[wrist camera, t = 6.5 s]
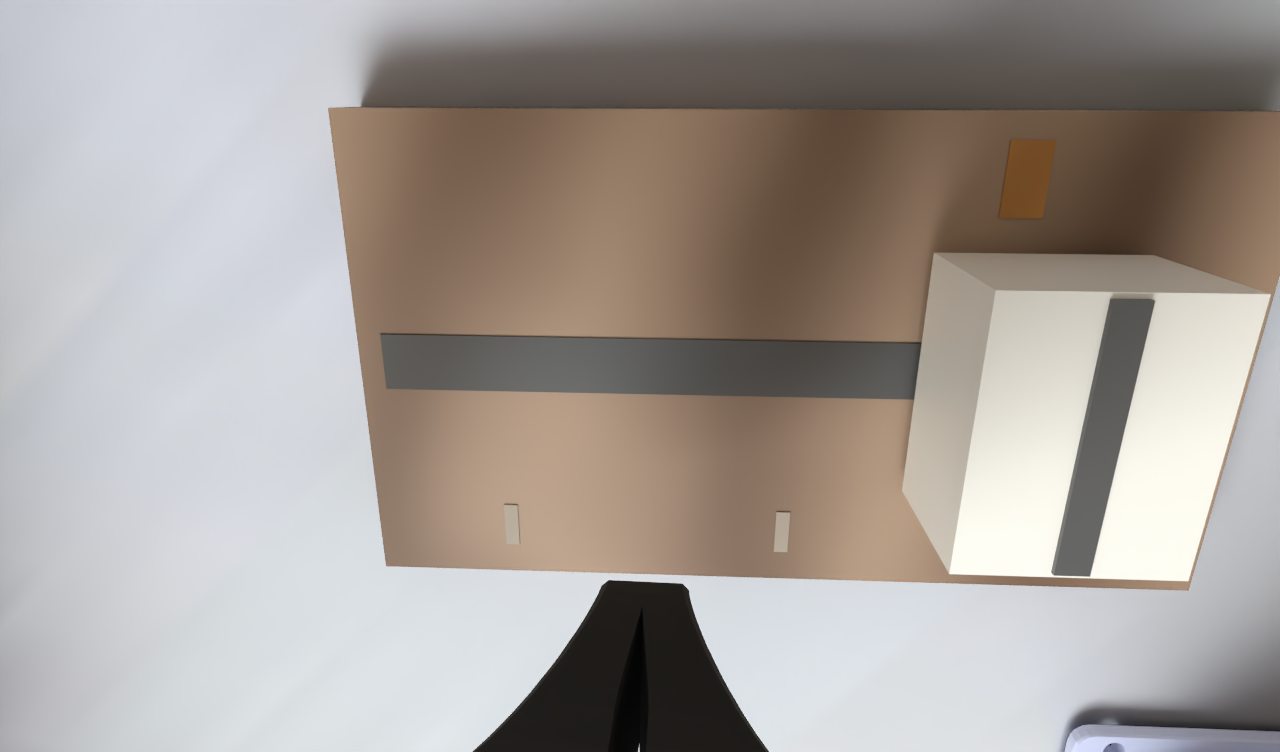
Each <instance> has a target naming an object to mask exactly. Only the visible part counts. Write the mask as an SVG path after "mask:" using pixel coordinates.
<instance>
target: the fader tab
mask: <svg viewBox="0 0 1280 752" xmlns="http://www.w3.org/2000/svg"><path fill="white" fill-rule="evenodd" d="M1270 296H1271V294H1269V293H1266V292H1263V291H1260V290H1257V289H1254V288H1251V287H1248V286H1245V285H1242V284H1239V283H1236V282H1233V281H1230V280H1227V279H1224V278H1221V277H1218V276H1215V275H1212V274H1209V273H1206V272H1203V271H1200V270H1197V269H1194V268H1191V267H1188V266H1185V265H1182V264H1179V263H1176V262H1173V261H1170V260H1167V259H1164V258H1161V257H1158V256H1155V255H1099V254H1016V253H934V255H933V262H932V270H931V277H930V285H929V292H928V300H927V307H926V315H925V322H924V330H923V337H922V345H921V352H920V360H919V367H918V375H917V382H916V390H915V397H914V405H913V412H912V420H911V427H910V435H909V442H908V450H907V457H906V465H905V472H904V480H903V487H902V492H903V493H904V495H905V497H906V499H907V500H908V502H909V504H910V506H911V507H912V509H913V511H914V513H915V515H916V516H917V518H918V520H919V522H920V523H921V525H922V527H923V529H924V530H925V532H926V534H927V536H928V538H929V539H930V541H931V543H932V545H933V546H934V548H935V550H936V552H937V553H938V555H939V557H940V559H941V560H942V562H943V564H944V566H945V568H946V569H947V571H948V573H949V574H961V575H994V576H1027V577H1061V578H1094V579H1128V580H1161V581H1189V577H1190V574H1191V570H1192V567H1193V563H1194V560H1195V556H1196V553H1197V549H1198V546H1199V542H1200V539H1201V536H1202V532H1203V529H1204V525H1205V522H1206V518H1207V515H1208V511H1209V508H1210V504H1211V501H1212V497H1213V494H1214V490H1215V487H1216V484H1217V480H1218V477H1219V473H1220V470H1221V466H1222V463H1223V459H1224V456H1225V452H1226V449H1227V445H1228V442H1229V438H1230V435H1231V431H1232V428H1233V425H1234V421H1235V418H1236V414H1237V411H1238V407H1239V404H1240V400H1241V397H1242V393H1243V390H1244V386H1245V383H1246V379H1247V376H1248V372H1249V369H1250V366H1251V362H1252V359H1253V355H1254V352H1255V348H1256V345H1257V341H1258V338H1259V334H1260V331H1261V327H1262V324H1263V320H1264V317H1265V313H1266V310H1267V307H1268V303H1269V300H1270Z"/></svg>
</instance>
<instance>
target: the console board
mask: <svg viewBox="0 0 1280 752" xmlns="http://www.w3.org/2000/svg"><path fill="white" fill-rule="evenodd" d="M328 110H329V118H330V126H331V134H332V142H333V150H334V158H335V166H336V173H337V181H338V189H339V197H340V205H341V213H342V221H343V229H344V237H345V244H346V252H347V260H348V268H349V276H350V284H351V292H352V300H353V308H354V316H355V323H356V331H357V339H358V347H359V355H360V363H361V371H362V379H363V387H364V394H365V402H366V410H367V418H368V426H369V434H370V442H371V450H372V458H373V466H374V473H375V481H376V489H377V497H378V505H379V513H380V521H381V529H382V537H383V544H384V552H385V560H386V566H402V567H434V568H467V569H500V570H533V571H566V572H599V573H631V574H664V575H697V576H730V577H763V578H796V579H829V580H861V581H894V582H927V583H960V584H993V585H1026V586H1058V587H1091V588H1124V589H1157V590H1189V587H1190V583H1191V580H1192V576H1193V573H1194V569H1195V566H1196V562H1197V559H1198V556H1199V552H1200V549H1201V545H1202V542H1203V538H1204V535H1205V531H1206V528H1207V524H1208V521H1209V518H1210V514H1211V511H1212V507H1213V504H1214V500H1215V497H1216V493H1217V490H1218V486H1219V483H1220V480H1221V476H1222V473H1223V469H1224V466H1225V462H1226V459H1227V455H1228V452H1229V448H1230V445H1231V442H1232V438H1233V435H1234V431H1235V428H1236V424H1237V421H1238V417H1239V414H1240V410H1241V407H1242V404H1243V400H1244V397H1245V393H1246V390H1247V386H1248V383H1249V379H1250V376H1251V372H1252V369H1253V366H1254V362H1255V359H1256V355H1257V352H1258V348H1259V345H1260V341H1261V338H1262V335H1263V331H1264V328H1265V324H1266V321H1267V317H1268V314H1269V310H1270V307H1271V303H1272V300H1273V297H1274V293H1275V290H1276V286H1277V283H1278V279H1279V276H1280V111H1199V110H959V109H719V108H479V107H344V108H328ZM934 253H1016V254H1099V255H1155V256H1158V257H1161V258H1164V259H1167V260H1170V261H1173V262H1176V263H1179V264H1182V265H1185V266H1188V267H1191V268H1194V269H1197V270H1200V271H1203V272H1206V273H1209V274H1212V275H1215V276H1218V277H1221V278H1224V279H1227V280H1230V281H1233V282H1236V283H1239V284H1242V285H1245V286H1248V287H1251V288H1254V289H1257V290H1260V291H1263V292H1266V293H1269V294H1271V296H1270V300H1269V303H1268V307H1267V310H1266V313H1265V317H1264V320H1263V324H1262V327H1261V331H1260V334H1259V338H1258V341H1257V345H1256V348H1255V352H1254V355H1253V359H1252V362H1251V366H1250V369H1249V372H1248V376H1247V379H1246V383H1245V386H1244V390H1243V393H1242V397H1241V400H1240V404H1239V407H1238V411H1237V414H1236V418H1235V421H1234V425H1233V428H1232V431H1231V435H1230V438H1229V442H1228V445H1227V449H1226V452H1225V456H1224V459H1223V463H1222V466H1221V470H1220V473H1219V477H1218V480H1217V484H1216V487H1215V490H1214V494H1213V497H1212V501H1211V504H1210V508H1209V511H1208V515H1207V518H1206V522H1205V525H1204V529H1203V532H1202V536H1201V539H1200V542H1199V546H1198V549H1197V553H1196V556H1195V560H1194V563H1193V567H1192V570H1191V574H1190V577H1189V581H1161V580H1128V579H1094V578H1061V577H1027V576H994V575H961V574H949V573H948V571H947V569H946V568H945V566H944V564H943V562H942V560H941V559H940V557H939V555H938V553H937V552H936V550H935V548H934V546H933V545H932V543H931V541H930V539H929V538H928V536H927V534H926V532H925V530H924V529H923V527H922V525H921V523H920V522H919V520H918V518H917V516H916V515H915V513H914V511H913V509H912V507H911V506H910V504H909V502H908V500H907V499H906V497H905V495H904V493H903V492H902V487H903V480H904V472H905V465H906V457H907V450H908V442H909V435H910V427H911V420H912V412H913V405H914V397H915V390H916V382H917V375H918V367H919V360H920V352H921V345H922V337H923V330H924V322H925V315H926V307H927V300H928V292H929V285H930V277H931V270H932V262H933V255H934Z"/></svg>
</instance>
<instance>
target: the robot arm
mask: <svg viewBox="0 0 1280 752" xmlns="http://www.w3.org/2000/svg"><path fill="white" fill-rule="evenodd" d="M639 743H640V752H769V751H768V750H767V748H766V747H765V746H764V744H763V743H762V741H761V740H760V739H759V737H758V736H757V734H756V733H755V731H754V730H753V728H752V727H751V725H750V724H749V722H748V721H747V719H746V717H745V716H744V714H743V713H742V711H741V710H740V708H739V706H738V704H737V703H736V701H735V699H734V698H733V696H732V694H731V692H730V691H729V689H728V687H727V685H726V683H725V682H724V680H723V678H722V676H721V674H720V672H719V670H718V668H717V666H716V664H715V662H714V660H713V658H712V656H711V653H710V651H709V649H708V647H707V645H706V643H705V640H704V638H703V636H702V633H701V631H700V628H699V625H698V623H697V620H696V617H695V614H694V611H693V608H692V605H691V601H690V596H689V590H688V589H687V588H686V587H685V586H684V585H683V584H676V583H655V582H633V581H612V580H609V581H607V582H606V583H605V584H604V585H602V587H601V589H600V591H599V594H598V596H597V597H596V599H595V601H594V603H593V605H592V607H591V609H590V610H589V612H588V614H587V615H586V617H585V619H584V620H583V622H582V623H581V625H580V627H579V628H578V630H577V631H576V633H575V634H574V636H573V637H572V638H571V640H570V641H569V643H568V644H567V646H566V647H565V649H564V650H563V651H562V653H561V654H560V656H559V657H558V659H557V660H556V661H555V663H554V664H553V665H552V666H551V668H550V669H549V670H548V671H547V673H546V674H545V675H544V676H543V678H542V679H541V680H540V681H539V683H538V684H537V685H536V686H535V688H534V689H533V690H532V691H531V693H530V694H529V695H528V696H527V697H526V698H525V699H524V701H523V702H522V703H521V704H520V705H519V706H518V707H517V708H516V710H515V711H514V712H513V713H512V714H511V715H510V716H509V717H508V718H507V719H506V720H505V721H504V722H503V723H502V724H501V725H500V726H499V727H498V728H497V729H496V730H495V731H494V732H493V733H492V734H491V735H490V736H489V737H488V738H487V739H486V740H485V741H484V742H483V743H482V744H481V745H479V746H478V747H477V748H476V749H475V750H474V751H473V752H638V748H639ZM1112 743H1113V744H1112ZM1109 744H1112V745H1110V746H1107V745H1109ZM1064 752H1280V732H1277V731H1251V730H1224V729H1198V728H1172V727H1145V726H1119V725H1093V724H1090V725H1082V726H1080V727H1077V728H1076V729H1074V730H1073V731H1072V732H1071V733H1070V735H1069V737H1068V739H1067V743H1066V747H1065V751H1064Z"/></svg>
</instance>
